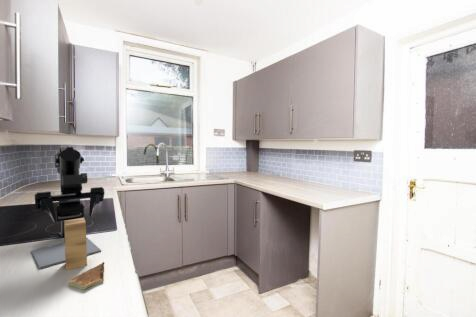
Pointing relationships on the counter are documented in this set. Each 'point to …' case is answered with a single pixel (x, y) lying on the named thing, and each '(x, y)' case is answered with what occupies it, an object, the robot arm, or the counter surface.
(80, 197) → the robot arm
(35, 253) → the slate mat
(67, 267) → the wood block
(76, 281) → the shard
